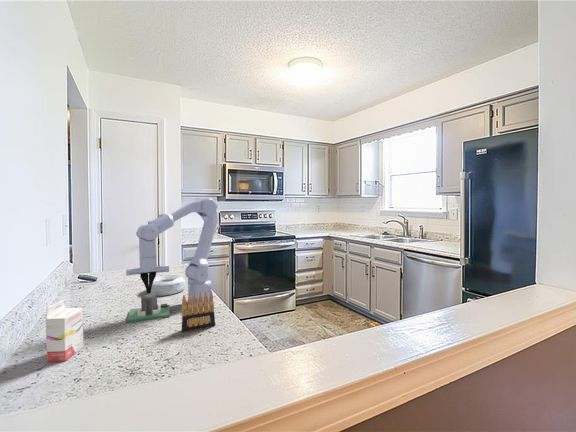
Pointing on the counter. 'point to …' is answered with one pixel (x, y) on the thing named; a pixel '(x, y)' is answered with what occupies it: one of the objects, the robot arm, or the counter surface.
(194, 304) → the ammunition clip
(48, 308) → the ink cartridge box
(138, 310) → the board
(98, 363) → the counter surface
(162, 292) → the cable
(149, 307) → the plug
